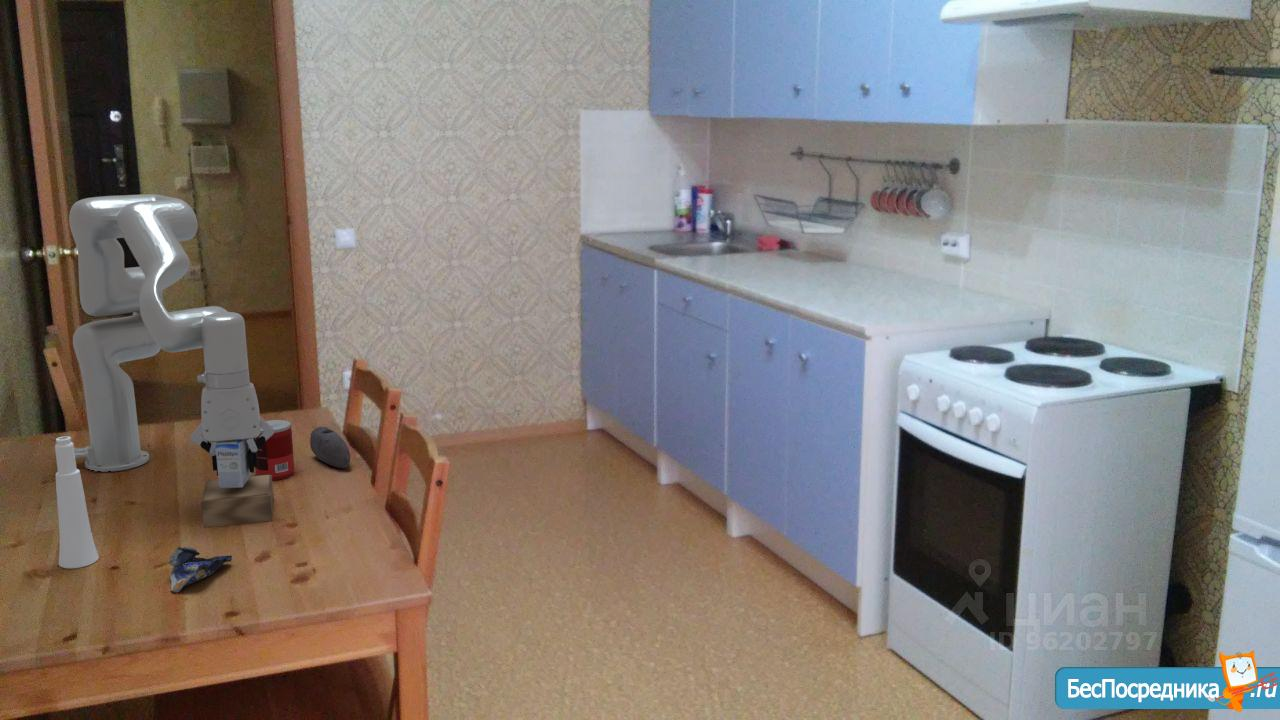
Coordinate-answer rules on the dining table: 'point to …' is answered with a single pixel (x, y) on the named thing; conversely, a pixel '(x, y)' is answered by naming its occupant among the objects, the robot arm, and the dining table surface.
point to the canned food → (276, 452)
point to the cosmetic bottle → (72, 510)
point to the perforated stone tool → (329, 447)
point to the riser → (238, 502)
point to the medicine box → (233, 463)
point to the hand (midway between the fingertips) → (236, 471)
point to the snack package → (192, 566)
